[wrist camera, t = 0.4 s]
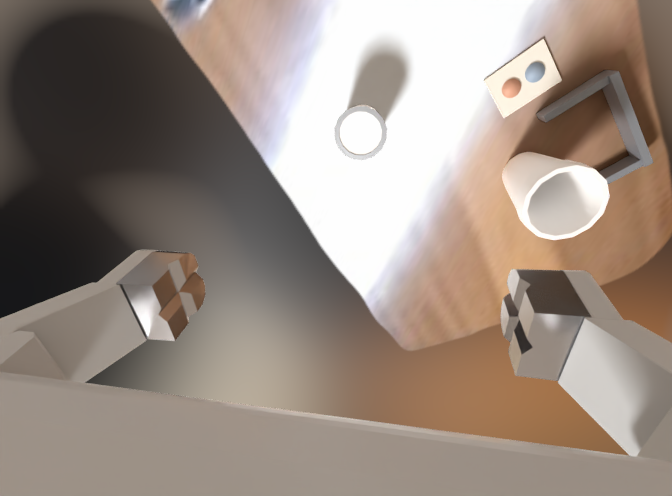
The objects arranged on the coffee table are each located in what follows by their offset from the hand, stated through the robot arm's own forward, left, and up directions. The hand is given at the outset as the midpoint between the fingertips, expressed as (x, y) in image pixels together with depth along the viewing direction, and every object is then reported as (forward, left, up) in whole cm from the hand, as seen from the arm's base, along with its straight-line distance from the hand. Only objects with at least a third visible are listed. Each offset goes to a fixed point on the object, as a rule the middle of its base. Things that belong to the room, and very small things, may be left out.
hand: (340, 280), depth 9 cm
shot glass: (+4, -1, -47) cm, 47 cm away
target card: (+2, +21, -47) cm, 51 cm away
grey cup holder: (+11, +30, -47) cm, 57 cm away
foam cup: (+15, +22, -47) cm, 54 cm away
